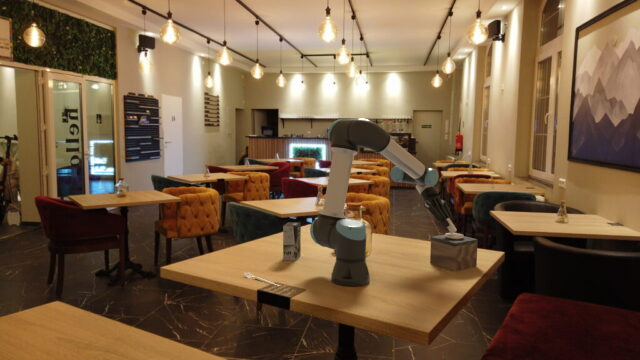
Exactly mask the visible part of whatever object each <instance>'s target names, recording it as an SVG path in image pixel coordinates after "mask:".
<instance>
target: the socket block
mask: <svg viewBox="0 0 640 360" xmlns="http://www.w3.org/2000/svg"><path fill="white" fill-rule="evenodd" d="M478 241H479V240H478V239H477V238H474V237H473V238H472V237H469V236H464V239H463V240H449V239H446V238H445V234H441V235H440V234H439V235H435V236H434V235H433V236H431V237H430V255H429V257H430V259H429V263H430V264H433V265H435V266H439V267H441V268H443V269H447V270H450V271H453V272H457V271H460V270H466V269H470V268H475V267H477V263H478V262H477V261H478V244H479V243H478Z"/></svg>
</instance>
